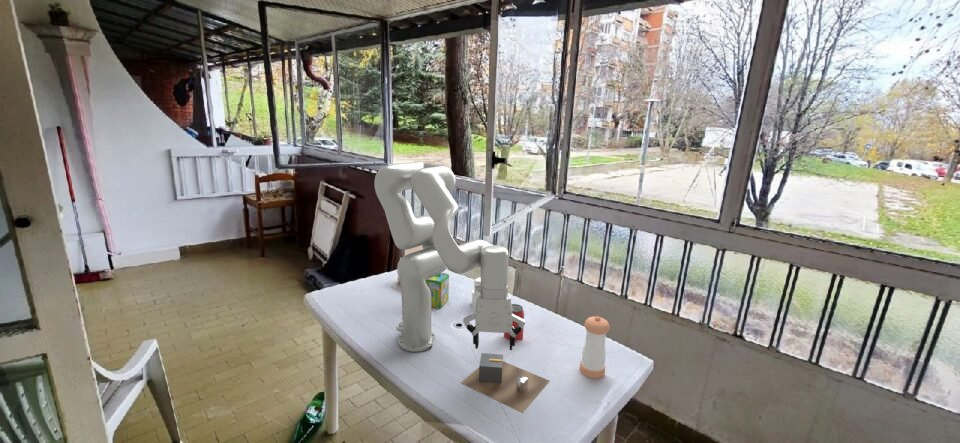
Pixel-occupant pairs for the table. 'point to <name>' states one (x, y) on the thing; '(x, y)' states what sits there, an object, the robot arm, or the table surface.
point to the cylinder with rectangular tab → (475, 292)
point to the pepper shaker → (594, 348)
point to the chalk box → (438, 289)
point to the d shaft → (521, 383)
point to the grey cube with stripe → (490, 368)
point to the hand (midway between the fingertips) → (493, 346)
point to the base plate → (509, 387)
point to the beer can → (518, 312)
